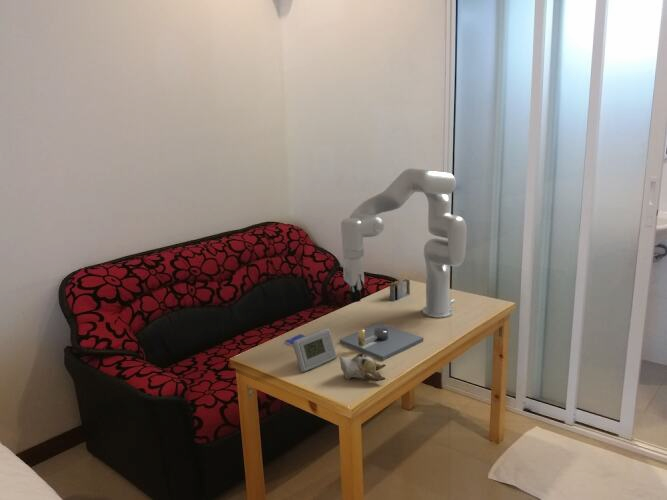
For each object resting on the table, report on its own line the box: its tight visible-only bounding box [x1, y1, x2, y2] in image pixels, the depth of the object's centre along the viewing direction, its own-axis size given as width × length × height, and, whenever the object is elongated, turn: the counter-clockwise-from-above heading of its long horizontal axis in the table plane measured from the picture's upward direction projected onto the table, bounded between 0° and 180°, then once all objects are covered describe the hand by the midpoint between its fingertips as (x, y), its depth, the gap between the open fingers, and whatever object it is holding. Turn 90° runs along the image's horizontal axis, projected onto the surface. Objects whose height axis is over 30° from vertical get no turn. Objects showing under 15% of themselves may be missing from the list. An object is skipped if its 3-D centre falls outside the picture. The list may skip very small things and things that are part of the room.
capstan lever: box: [357, 328, 388, 346], centre depth 204 cm, size 14×5×6 cm, turn 131°
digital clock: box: [292, 327, 337, 373], centre depth 192 cm, size 16×9×11 cm, turn 121°
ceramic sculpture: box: [339, 353, 387, 382], centre depth 181 cm, size 11×9×15 cm
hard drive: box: [284, 334, 305, 347], centre depth 209 cm, size 2×8×12 cm
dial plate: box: [338, 322, 424, 361], centre depth 208 cm, size 22×22×2 cm
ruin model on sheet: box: [389, 278, 411, 302], centre depth 253 cm, size 11×3×10 cm, turn 135°
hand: (355, 301), depth 204 cm, fingers closed
